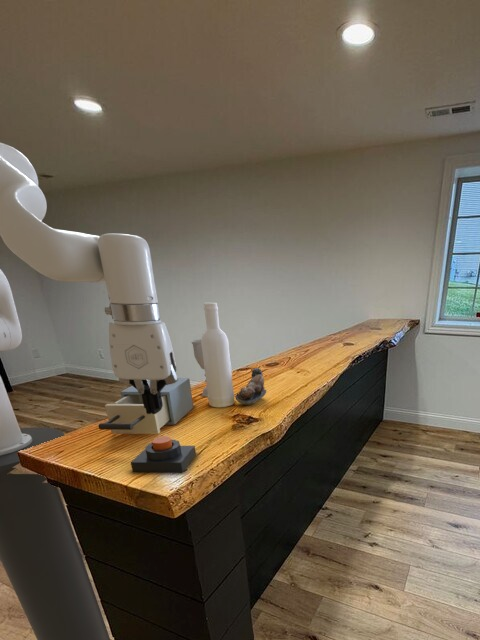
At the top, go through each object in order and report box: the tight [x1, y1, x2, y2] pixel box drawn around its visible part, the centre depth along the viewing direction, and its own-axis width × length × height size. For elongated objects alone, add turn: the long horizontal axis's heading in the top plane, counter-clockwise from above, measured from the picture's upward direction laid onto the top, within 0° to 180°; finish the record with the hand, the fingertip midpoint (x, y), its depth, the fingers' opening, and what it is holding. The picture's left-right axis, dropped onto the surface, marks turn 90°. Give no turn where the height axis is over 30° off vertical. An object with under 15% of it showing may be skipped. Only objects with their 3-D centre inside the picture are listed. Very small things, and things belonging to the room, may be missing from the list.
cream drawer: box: [98, 395, 171, 435], centre depth 86 cm, size 21×11×7 cm, turn 0°
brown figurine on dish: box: [234, 367, 267, 406], centre depth 110 cm, size 12×7×10 cm, turn 160°
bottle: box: [201, 302, 235, 408], centre depth 104 cm, size 8×8×30 cm
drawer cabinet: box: [120, 377, 194, 426], centre depth 98 cm, size 15×13×9 cm
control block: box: [130, 439, 197, 473], centre depth 72 cm, size 10×8×4 cm
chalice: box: [190, 339, 208, 398], centre depth 116 cm, size 7×7×18 cm
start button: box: [151, 435, 172, 450], centre depth 71 cm, size 4×4×2 cm
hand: (154, 411), depth 69 cm, fingers closed
